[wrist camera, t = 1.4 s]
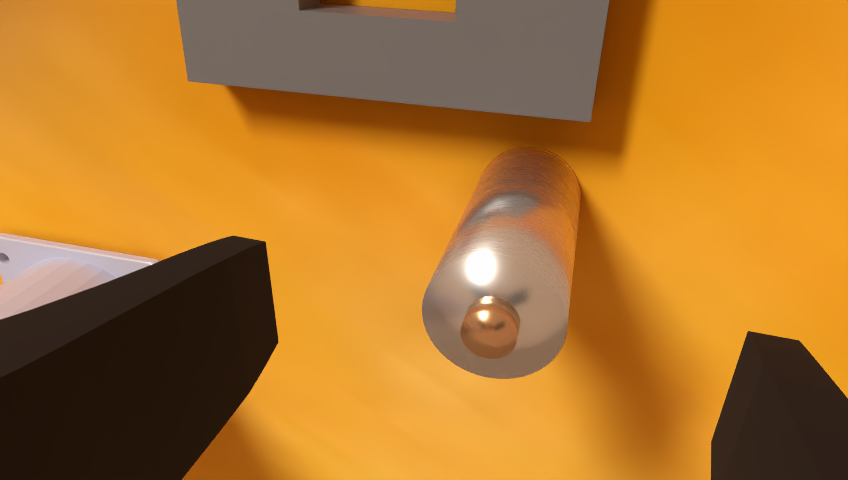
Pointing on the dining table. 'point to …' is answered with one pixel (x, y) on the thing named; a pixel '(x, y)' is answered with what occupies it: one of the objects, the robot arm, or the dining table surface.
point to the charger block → (405, 52)
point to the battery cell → (508, 268)
